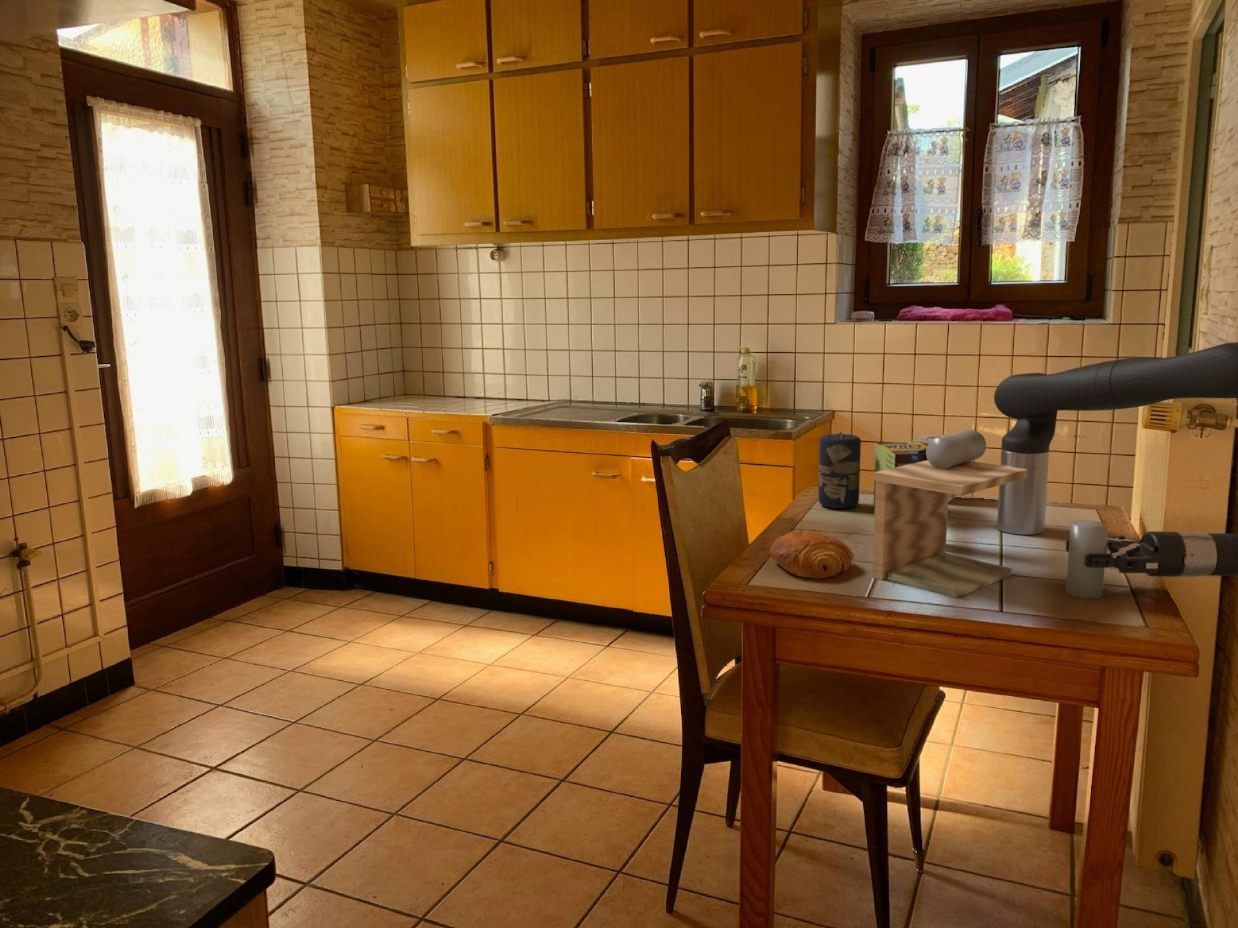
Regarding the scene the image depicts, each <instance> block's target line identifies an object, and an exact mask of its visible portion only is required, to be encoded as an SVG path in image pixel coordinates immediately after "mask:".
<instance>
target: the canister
mask: <svg viewBox="0 0 1238 928" xmlns="http://www.w3.org/2000/svg"><path fill="white" fill-rule="evenodd" d="M861 441H862V440H861V438H860V437H859V436H858V435H854V434H849V433H848V434H846V433H843V432H842V431H839V433H831V434H830V433H829V434H825V435H822V436H821V437H820V440H819V454H818V455H819V458H818V459H819V460H818V491H817V492H818V495H817V496H818V503H819V504H820V505H821V506H824V507H825V508H826V507H827V508H833V509H849V508H854V507H857V505H858V504H859V502H860V483H861V481H860V480H861V479H860V478H861V453H862V452H861V450H862V449H861V447H862V446H861V445H862V442H861Z"/></svg>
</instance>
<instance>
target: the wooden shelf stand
mask: <svg viewBox="0 0 1238 928" xmlns="http://www.w3.org/2000/svg"><path fill="white" fill-rule="evenodd" d="M1024 478H1027V469H1022V468H1015V467H1008V466H1001V464H993V463H986V462H979V461H974V460H972V461H969V462H966V463H963V464H959V465H956V466H953V467H950V468H946V469H937V468H935V467H933V466H932V465H931V464H930V463H929V461H928V460H926V461H922V462H917V463H913V464H909V465H904V466H900V467H895V468H891V469H887V470H882V471H878V472H875V471H874V472H873V482H874V481H876V489H875V507H874V523H873V524H874V525H873V555H872V556H873V557H872V559H873V561H872V578H873V579H875V580H876V579H877V580H881V581H883V580H888V581H892V582H895V583H900V584H903V585H907V586H910V587H914V588H918V589H921V590H925V591H928V590H929V591H930V592H931V593H932V592H933V593H935V594H941V595H943V596H947V597H950V598H951V597H952V598H959V597H962V596H963V595H966V594H969V593H972V592H974V591H976V590H977V591H978V590H979V589H982V588H984V587H986V586H989V585H991V584H994V583H996V582H998V581H1001V580H1005V579H1007V578H1009V577H1012V571H1013V569H1012V567H1007V566H1003V565H1000V564H994V563H991V562H986V561H982V560H977V559H972V558H969V557H964V556H959V555H955V554H951V553H946V546H947V536H946V523H947V524H948V515H947V502H948V494H953V495H957V496H960V497H961V496H966V495H970V494H972V493H973V494H974V493H976V492H980V491H984V490H986V489H991V488H995V487H999V485H1002V484H1006V483H1009V482H1013V481H1017V480H1020V479H1024ZM948 503H949V502H948ZM945 545H946V546H945ZM929 591H928V592H929Z"/></svg>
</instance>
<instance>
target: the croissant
mask: <svg viewBox="0 0 1238 928" xmlns="http://www.w3.org/2000/svg"><path fill="white" fill-rule="evenodd" d="M769 553H770V555H771V556H770V557H771V558H772V559H773V561H774V562H775V563H776V564H778V565H779V567H781V568H782V569H784V570H785V571H786V572H789V573H791V574H792V575H796V576H798V577H801V578H802V577H803V578H810V579H811V578H812V579H816V580H817V579H825V578H829V577H834V576H836V575H838V574H843V573H846V572H848V571H849V569H850V568H851V564H852V561H853V560H855V557H854V556H855V555H854V553H853V551H852V550H851V548H850V547H849V546H848V545H847V544H846V543H844V542H843V541H841V540H839V539H837V538H836V537H833V536H830V535H827V534H824V533H820V532H819V531H818V532H817V531H814V530H809V529H803V530H795V531H789V532H787V534H784V535H781V536H779V537H778V538H776V539H775V540H774V542H773V544H772V545H771V547H770V552H769Z"/></svg>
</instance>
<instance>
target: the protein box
mask: <svg viewBox="0 0 1238 928" xmlns="http://www.w3.org/2000/svg"><path fill="white" fill-rule="evenodd" d="M924 449H927V446H925V445H923V444H921V443H918V442H912V443H911V442H875V449H874V450H875V451H874V452H875V453H874V472H878V471H882V470H887V469H891V468H895V467H900V466H904V465H909V464H913V463H917V460H918V459H917V453H918V451H920V450H924ZM873 482H874V483H873V487H874V488H873V507H874V508H875V489H876V481H874V480H873Z"/></svg>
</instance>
